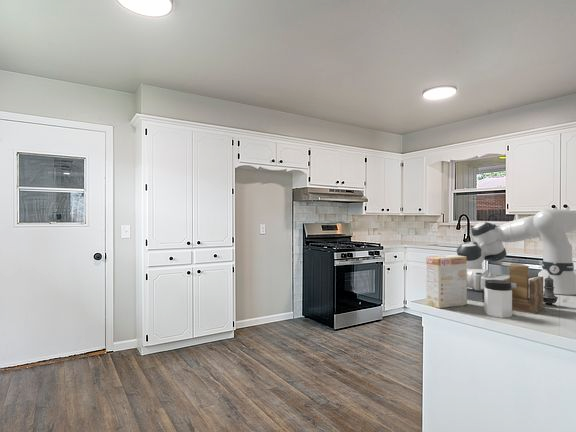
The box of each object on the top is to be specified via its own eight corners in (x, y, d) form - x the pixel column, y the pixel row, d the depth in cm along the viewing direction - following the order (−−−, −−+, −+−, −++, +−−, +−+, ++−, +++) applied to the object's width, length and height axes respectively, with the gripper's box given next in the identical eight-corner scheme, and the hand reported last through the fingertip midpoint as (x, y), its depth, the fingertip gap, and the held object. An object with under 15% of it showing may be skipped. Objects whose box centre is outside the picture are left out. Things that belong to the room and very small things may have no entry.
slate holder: (465, 295, 163) (465, 287, 163) (489, 299, 156) (489, 290, 156) (458, 298, 158) (458, 289, 158) (482, 301, 151) (482, 293, 151)
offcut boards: (502, 304, 146) (502, 296, 146) (531, 309, 138) (531, 300, 138) (499, 306, 144) (499, 297, 144) (528, 310, 136) (528, 301, 136)
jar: (514, 318, 126) (515, 284, 126) (488, 317, 128) (488, 283, 128) (506, 312, 134) (506, 279, 134) (482, 310, 136) (482, 278, 136)
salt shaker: (561, 307, 141) (561, 276, 141) (544, 307, 142) (544, 276, 142) (553, 304, 147) (553, 274, 147) (537, 303, 148) (537, 274, 148)
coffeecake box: (453, 301, 152) (453, 254, 152) (467, 305, 145) (467, 256, 145) (425, 304, 146) (425, 256, 146) (439, 308, 140) (439, 257, 140)
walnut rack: (504, 301, 151) (504, 272, 151) (543, 307, 141) (543, 276, 141) (493, 306, 142) (493, 276, 142) (533, 313, 132) (533, 280, 132)
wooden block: (511, 303, 147) (511, 264, 148) (528, 306, 143) (528, 265, 143) (509, 304, 146) (509, 265, 146) (526, 307, 141) (526, 266, 141)
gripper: (491, 284, 161) (527, 288, 151) (473, 290, 148) (512, 295, 137) (491, 270, 161) (527, 273, 151) (473, 274, 148) (512, 279, 137)
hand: (520, 284), depth 144 cm, fingers open, 7 cm apart
